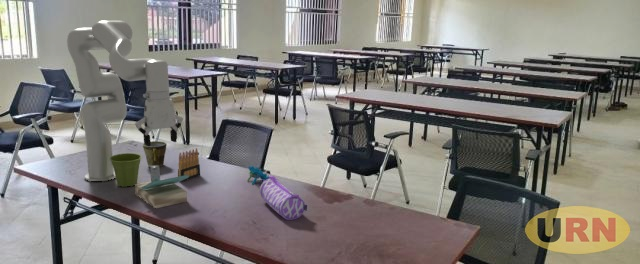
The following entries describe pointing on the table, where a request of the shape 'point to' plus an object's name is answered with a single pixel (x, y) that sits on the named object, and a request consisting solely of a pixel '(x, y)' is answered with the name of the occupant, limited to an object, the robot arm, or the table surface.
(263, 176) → the gear
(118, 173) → the plant pot
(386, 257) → the table surface
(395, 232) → the table surface
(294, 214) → the pencil case
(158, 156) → the ceramic cup
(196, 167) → the ammunition clip
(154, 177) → the steel pin
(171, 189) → the block
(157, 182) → the teal square plate
